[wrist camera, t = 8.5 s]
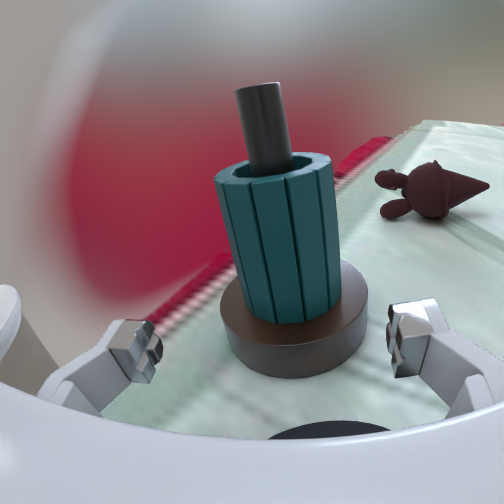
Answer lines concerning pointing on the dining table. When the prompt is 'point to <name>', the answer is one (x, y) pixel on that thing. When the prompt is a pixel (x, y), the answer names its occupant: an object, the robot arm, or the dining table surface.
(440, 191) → the icecream
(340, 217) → the dining table surface
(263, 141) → the holder
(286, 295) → the teal ribbed hollow cylinder
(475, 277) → the dining table surface
